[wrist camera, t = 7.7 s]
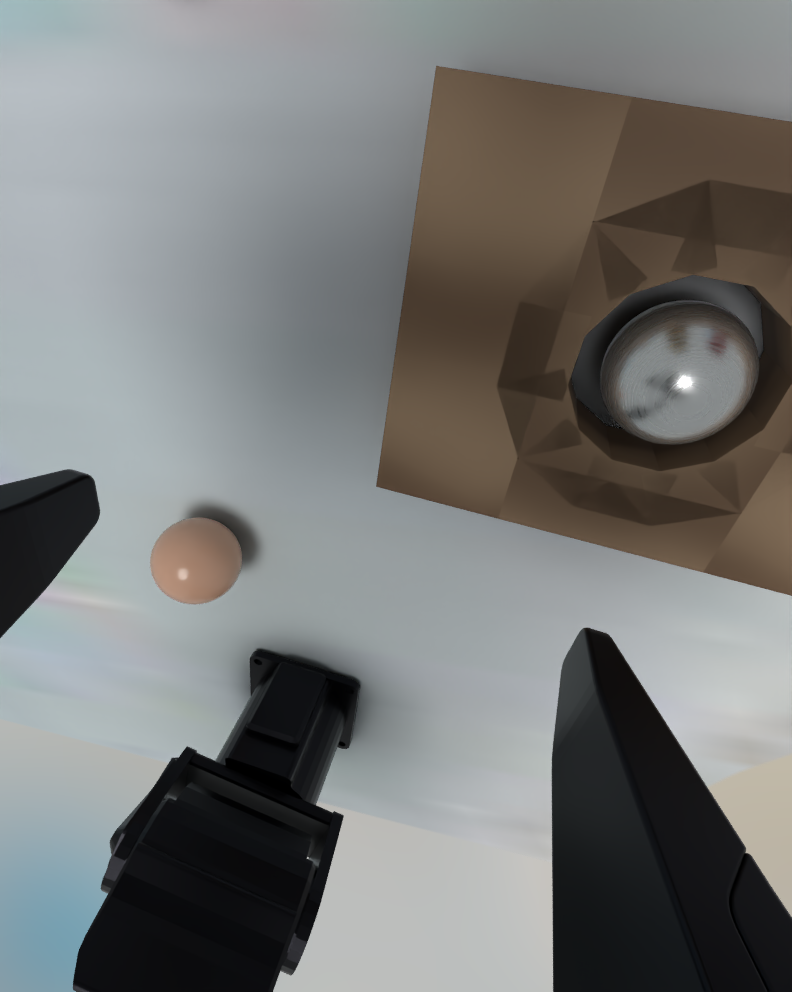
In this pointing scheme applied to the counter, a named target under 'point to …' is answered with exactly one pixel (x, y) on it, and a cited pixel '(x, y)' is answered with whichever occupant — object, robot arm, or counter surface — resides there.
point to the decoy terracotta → (196, 560)
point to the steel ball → (679, 372)
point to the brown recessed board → (589, 318)
